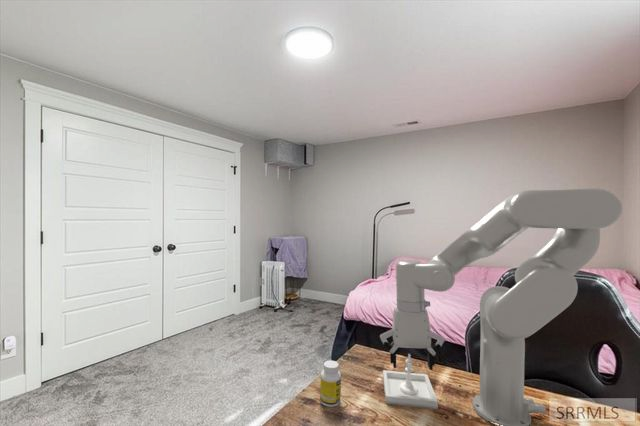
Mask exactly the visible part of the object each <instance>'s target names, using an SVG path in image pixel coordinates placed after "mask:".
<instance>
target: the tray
mask: <svg viewBox="0 0 640 426" xmlns="http://www.w3.org/2000/svg"><path fill="white" fill-rule="evenodd" d="M406 376H407V371H405V372H404V371H395V370H394V371H393V370H385V369H382V381H383V389H384V390H383V391H384V398H385V399H384V400H385V404H386V405H393V406H405V407H413V408H422V409H429V410H430V409H431V410H438V409H439V405H438V404H439V402H438V398H437V396H436V394H435V390H434V388H433V386H432V383H431V381H430V378H429V375H428V374H425V373H414V372H411V382H412V384H414V385H415V386H416V387H417V390H418V392H417V394H415V395H408V394H405V393H403V392H401V391H400V389H399V387H400V384H401V383H403V382H406Z"/></svg>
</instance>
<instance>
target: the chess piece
mask: <svg viewBox="0 0 640 426" xmlns="http://www.w3.org/2000/svg"><path fill="white" fill-rule="evenodd" d="M411 356H412V355H411V353H408V354H407V359H405V360H404V361H405V366H406V367H405V368H404V371H405V372H406V373H407V376H406V382H403V383H401V384H400V387H399V389H400V391H401V392H403V393H405V394H408V395H415V394H417V392H418V390H417V387H416V386H415V385H414V384H412V382H411V373H413V371H414V369H413V368H412V365H413V359H412V360H411V358H412V357H411Z"/></svg>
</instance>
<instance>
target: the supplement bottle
mask: <svg viewBox="0 0 640 426" xmlns="http://www.w3.org/2000/svg"><path fill="white" fill-rule="evenodd" d="M339 366H340V365H339V363H338V362H337V361H336V360H326V361H325V362H324V363H323V370H322V371H321V372H320V387H319V388H320V389H319V390H320V392H319V399H320V403H321V404H322V405H323V406H325V407H329V408H331V407H332V408H333V407H337V406H338V405H340V403H341V393H342V392H341V389H342V374H341V372H340V371H339V369H340V368H339Z"/></svg>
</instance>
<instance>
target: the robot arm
mask: <svg viewBox="0 0 640 426" xmlns="http://www.w3.org/2000/svg"><path fill="white" fill-rule="evenodd" d="M622 214H623V204H622V202H621V200H620V198H619V197H618V196H617V195H616V194H614V193H612V192H611V191H609V190H605V189H601V188H578V189H577V188H575V189H573V188H572V189H538V190H537V189H533V190H532V189H531V190H530V189H528V190H523V191H519V192H516V193H513V194H511V195H509V196H508V197H506V198H505V199H504V200H502V201H501V202H500V203H499V204H498V205H496V206H495V207H494V208H493V209H492V210H490V211H489V212H488V213H487V214H485V215H483V217H481V219H480V220H478V221H477V222H475V224H473V225H472V226H471V227H469V228H468V229H467V230H466V231H464V232H463V233H462V234H460V235H459V236H458V237H457V238H456V239H455V240H454V241H452V242H451V243H450V244H448V245H447V246H446V247H445V248H444V249H442V250H441V251H440V252H439V253H438V254H436V255H435V256H433V258H431V259H430V260H429V261H428V262H427V263H422V262H421V261H418V260H410V259H409V260H400V261H398V262H397V263H396V264H395V276H396V277H395V279H396V280H395V281H396V282H395V283H396V284H395V285H396V286H395V287H396V307H394V308H393V312H392V328H391V329H389V330H387V331H385V332H383V333H381V334H380V335H379V338H380V341H381V342H382V345H383V347H385V349H386V350H388V352H389V358H390V359H389V360H390V364H392V366H393V369H396V368H397V353H396V352H397V350H398V348H407V349H408V348H409V349H426V350H427V353H426V354H427V355H426V357H427V358H426V359H427V366H428V369H429V370H430V371H434V368H433V367H434V366H435V364H436V363H435V356H436V354H437V353H438V352H439V351H440V350H441V349H442V346H443V344H444V342H445V338H444V337H443V336H442V335H440V334H438V333H436V332H434V331H432V330H431V325H430V319H429V318H430V317H429V313H428V310H427V308H428V307H431V301H430V300H429V301H428V300H426V298H425V297H426V296H425V294H426V293H425V290H429V291H433V292H441V293H442V292H447V291H449V290H450V289H451V288H453V286H454V284H455V280H456V279H455V277H456V275H457V274H458V273H460V272H461V271H462V270H463V269H465V268H466V267H468V266H470V265H471V264H472V263H474V262H476V261H478V260H480V259H481V260H482V259H485V258H488V257H490V256H493V255H494V254H497V252H499V251H500V250H502V249H503V248H504V247H505V246H506V245H507V244H509V243H510V242H511V241H513V240H514V239H516V238H517V237H518V236H519V235H521V234H522V233H524V232H525V231H526V230H528V229H529V228H533V229H555V230H554V233H553V235H552V236H551V238H549V239H548V240H547V241H546V242H545V244H544V245H543V246H541V247H540V248H539V249H538V250H537V251H535V252H534V253H533V254H532V255H530V257H528V258H527V259H526V260H524V261H523V262H522V263H521V264H519V266H518V267H517V268H516V270H515V271H514V281H515V284H514V285H513V286H511V288H509V287H506V286H503V285H502V286H501V285H497V286H496V285H495V286H491V287H489V288H487V289H486V290H485V291H484V292H483V293H482V295H481V297H480V301H479V318H480V321H479V322H480V348H479V349H480V354H479V355H480V357H479V394H476V395H475V396H473V398H472V408H473V409H474V411H475V412H476V413H477V414H478V416H480V417H481V418H482V419H484V420H485V421H487V422H488V421H490V422H493V423H497V424H499V425H503V426H529V425H530V424H532V416H531V414H532V413H537V414H546V413H547V408H546V406H545V404H543V403H535V401H534V399H533V398H529V397H526V398H525V394H524V393H525V357H526V355H525V354H526V353H525V352H526V342H525V339H526V338H529V337H530V336H532V335H534V334H536V333H537V332H538V331H539V330H541V329H542V328H543V327H544V326H545V325H547V324H548V323H550V322H551V321H552V320H553V319H555V318H556V317H558V315H560V314H562V312H563V311H565V310H566V309H567V308H569V307H570V306H571V305H572V303H573V302H574V300H575V299H576V297H577V295H578V286H579V285H578V282H577V279H576V277H575V274H578V272H579V271H580V270H581V269H582V268H584V267H585V266H586V265H587V264H589V262H590V261H591V260H592V259H593V258H594V256H595V255H596V253H597V251H598V249H599V247H600V241H601V229H605V228H607V227H610V226H612V225H613V224H614V223H616V222H617V221H618V220H619V218H620V217H621V215H622ZM390 337H392V340H393V341H392V342H391V343H390V342H389V341H388V340H387V339H388V338H390ZM432 338H433V339H434V340H437V341H436V342H435V343H434V344H433V345H432ZM490 422H489V423H490ZM530 426H531V425H530Z"/></svg>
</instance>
